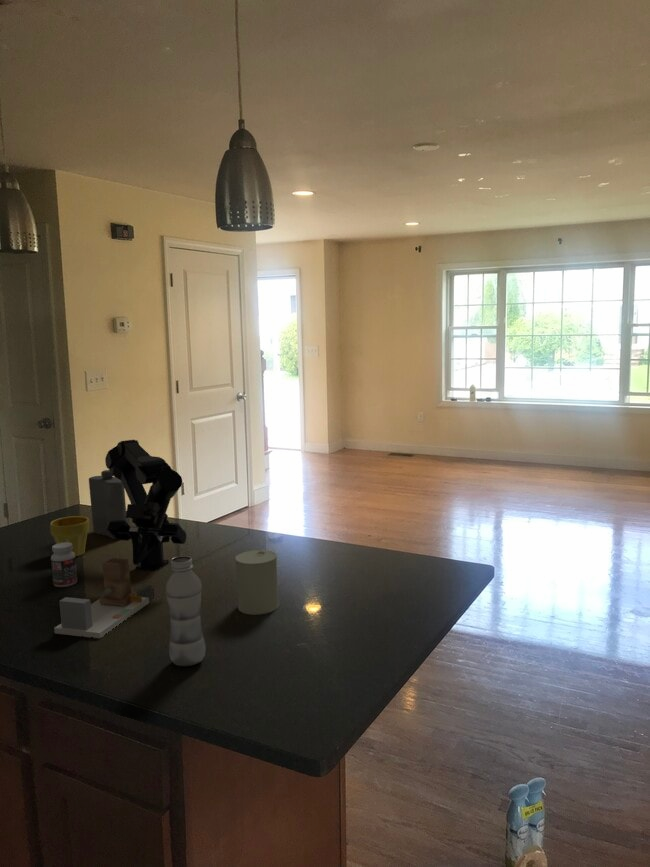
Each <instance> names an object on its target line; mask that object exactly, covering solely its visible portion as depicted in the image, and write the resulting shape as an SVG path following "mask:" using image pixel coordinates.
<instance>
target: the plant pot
mask: <svg viewBox="0 0 650 867" xmlns="http://www.w3.org/2000/svg"><path fill="white" fill-rule="evenodd" d="M49 530H50V535H51V536H52V537H53V539H54V542H55V544H59V543H64V542H69V543H72V546H73V549H72V552H74V553H75V557H76V556H78V557H80V556H79V555H81V556H82V554H83V553H84V554H85V553H86V552H85V550H86V544H87V537H88V533H90V518H89V517H86V516H81V515H80V516H79V515H78V516H77V515H73V516H65V517H59V518H57V519H56V518H55V519H54V520H52V521H51V522H50V524H49ZM84 554H83V555H84ZM76 558H77V557H76Z"/></svg>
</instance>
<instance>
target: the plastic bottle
mask: <svg viewBox="0 0 650 867" xmlns="http://www.w3.org/2000/svg"><path fill="white" fill-rule="evenodd" d="M193 569H194V564H193V559H192V557H191V556H189V555H180V556H175V557H173V558H171V560H170V570H171V572H172V573H171V575H170V576H169V577H168V580H167V582H166V583H165V588H164V589H165V590H164V591H165V596H166V600H167V606H168V609H169V610H168V612H169V616H170V617H169V618H170V619H169V620H170V639H169V643H168V644H169V645H168V654H169V657H170V661H171V662H172V663H173V664H174V665H175V666H178V667H190V666H195V665H198V664H199V663H200V662H202V661H203V659H204V657H205V656H206V647H207V646H206V641H205V638H204V635H203V634H204V633H203V627H202V621H201V620H202V619H201V602H202V593H203V585H202V581H201V579H200V578H199V577H198V575H197V574H196V573H195V572H194V571H193Z"/></svg>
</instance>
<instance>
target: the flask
mask: <svg viewBox="0 0 650 867" xmlns="http://www.w3.org/2000/svg"><path fill="white" fill-rule="evenodd" d="M100 474H101V475H95V476H90V477H89V478H88V486H89V495H90V496H89V498H90V507H91V518H92V519H91V520H92V530H93V534H95V533H99V534H98V535H100V534H104V535H103V536H105V535H107V536H106V537H108V536H109V537H108V538H110V537H111V538H110V539H112V540H114V539H115V538H114V536H113V535H112V534H111V533H110V532H109V531H108V530H107V526H108V524H109V522H110V521H112V520H123V521H126V522H127V523H128V518H126V512H127V503H126V494H125V492H126V491H125V488H124V486H123V484H122V481H121V480H120V479H118V478H116V477H114V476H112V474H111V472H110V470H109V469H106V470H102V471H101V472H100Z"/></svg>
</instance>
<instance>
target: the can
mask: <svg viewBox="0 0 650 867" xmlns="http://www.w3.org/2000/svg"><path fill="white" fill-rule="evenodd" d="M277 557H278V556H277V554H276V552H273V551H271V550H266V549H258V550H257V549H255V550H247V551H244V552H241V553H239V554H237V555H236V556H235V558H234V559H235V569H236V570H235V571H236V572H235V573H236V586H237V588H236V589H237V609H238V611H239V612H240V613H242V614H245V615H250V616H251V615H253V616H255V615H257V616H258V615H265V614H269V613H272V612H274V611H276V610H278V609H279V607H280V600H279V591H278V590H279V589H278V588H279V585H278V584H279V583H278V567H277V564H278V563H277V561H278V560H277V559H278V558H277Z"/></svg>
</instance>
